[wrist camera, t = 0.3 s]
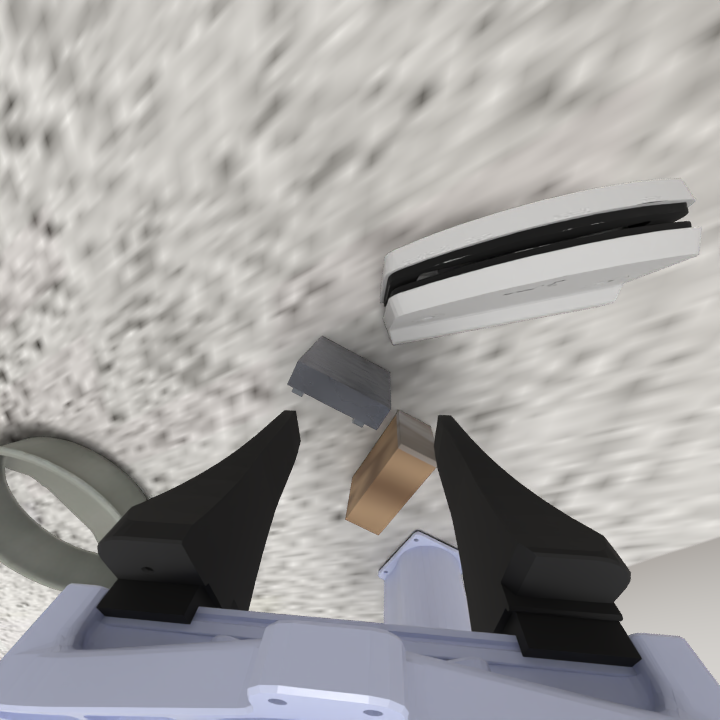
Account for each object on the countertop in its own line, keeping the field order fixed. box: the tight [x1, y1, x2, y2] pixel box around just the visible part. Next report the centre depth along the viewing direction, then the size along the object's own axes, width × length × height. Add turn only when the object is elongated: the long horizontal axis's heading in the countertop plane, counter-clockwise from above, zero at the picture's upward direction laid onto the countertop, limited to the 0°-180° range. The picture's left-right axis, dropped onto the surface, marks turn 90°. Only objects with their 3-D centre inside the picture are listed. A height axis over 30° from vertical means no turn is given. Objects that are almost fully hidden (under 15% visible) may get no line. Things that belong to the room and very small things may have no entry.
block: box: [345, 410, 437, 535], centre depth 24 cm, size 10×4×5 cm, turn 152°
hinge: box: [380, 178, 702, 345], centre depth 16 cm, size 17×5×10 cm, turn 103°
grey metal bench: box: [287, 336, 391, 430], centre depth 21 cm, size 5×7×6 cm
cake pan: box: [0, 437, 147, 591], centre depth 33 cm, size 25×25×4 cm
